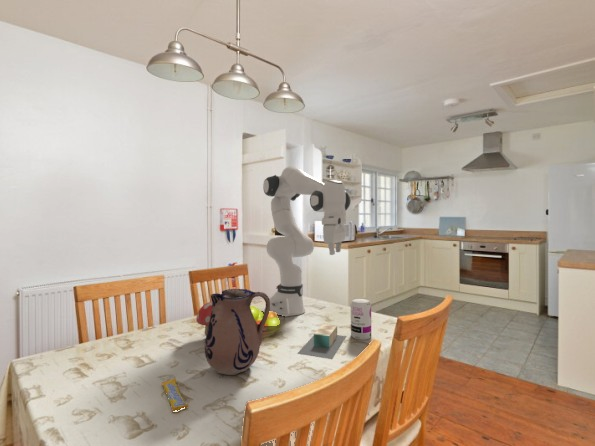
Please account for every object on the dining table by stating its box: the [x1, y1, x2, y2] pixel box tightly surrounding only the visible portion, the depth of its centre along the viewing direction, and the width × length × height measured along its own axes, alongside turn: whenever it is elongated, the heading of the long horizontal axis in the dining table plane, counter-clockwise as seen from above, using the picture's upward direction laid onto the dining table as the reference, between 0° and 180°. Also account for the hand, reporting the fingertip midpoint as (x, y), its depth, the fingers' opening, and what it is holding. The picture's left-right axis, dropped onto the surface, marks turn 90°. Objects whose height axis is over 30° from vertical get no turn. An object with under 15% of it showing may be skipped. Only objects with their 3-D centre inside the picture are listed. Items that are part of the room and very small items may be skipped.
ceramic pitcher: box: [204, 288, 270, 376], centre depth 105 cm, size 18×21×25 cm
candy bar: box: [161, 378, 189, 411], centre depth 89 cm, size 17×4×2 cm, turn 32°
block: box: [313, 323, 338, 348], centre depth 126 cm, size 6×4×12 cm
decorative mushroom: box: [195, 301, 212, 336], centre depth 131 cm, size 13×13×15 cm
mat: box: [296, 334, 347, 360], centre depth 123 cm, size 13×22×1 cm, turn 158°
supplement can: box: [350, 298, 372, 341], centre depth 130 cm, size 8×8×15 cm
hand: (335, 253), depth 131 cm, fingers open, 8 cm apart
